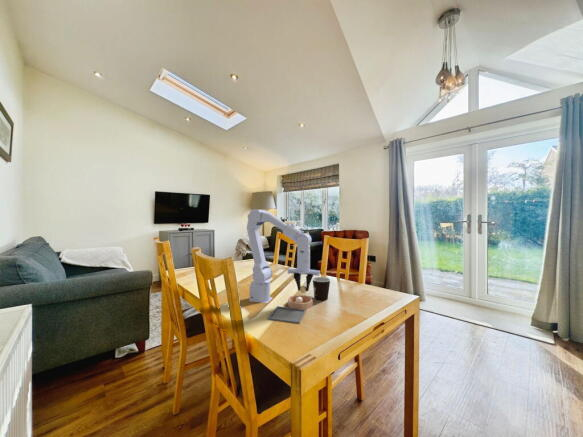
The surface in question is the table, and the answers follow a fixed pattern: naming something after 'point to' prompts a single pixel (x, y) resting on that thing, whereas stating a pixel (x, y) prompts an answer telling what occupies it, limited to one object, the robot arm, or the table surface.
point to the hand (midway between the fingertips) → (303, 290)
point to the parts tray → (287, 314)
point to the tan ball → (302, 289)
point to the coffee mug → (321, 288)
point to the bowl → (304, 305)
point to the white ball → (299, 300)
